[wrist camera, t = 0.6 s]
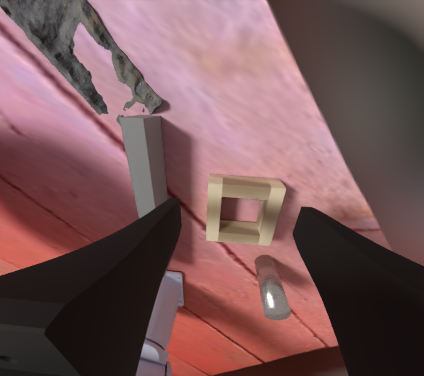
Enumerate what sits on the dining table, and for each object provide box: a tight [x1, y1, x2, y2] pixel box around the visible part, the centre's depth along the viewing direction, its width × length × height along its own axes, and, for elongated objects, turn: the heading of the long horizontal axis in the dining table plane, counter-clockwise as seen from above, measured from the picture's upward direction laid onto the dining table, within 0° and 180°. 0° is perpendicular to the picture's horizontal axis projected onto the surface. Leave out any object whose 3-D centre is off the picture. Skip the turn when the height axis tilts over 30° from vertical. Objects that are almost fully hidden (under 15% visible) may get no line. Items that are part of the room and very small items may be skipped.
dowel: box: [255, 255, 291, 320], centre depth 22 cm, size 3×3×7 cm
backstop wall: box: [119, 115, 173, 277], centre depth 20 cm, size 20×2×4 cm, turn 177°
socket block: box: [206, 174, 286, 246], centre depth 20 cm, size 8×8×2 cm
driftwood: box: [0, 0, 162, 126], centre depth 14 cm, size 21×7×2 cm, turn 35°
